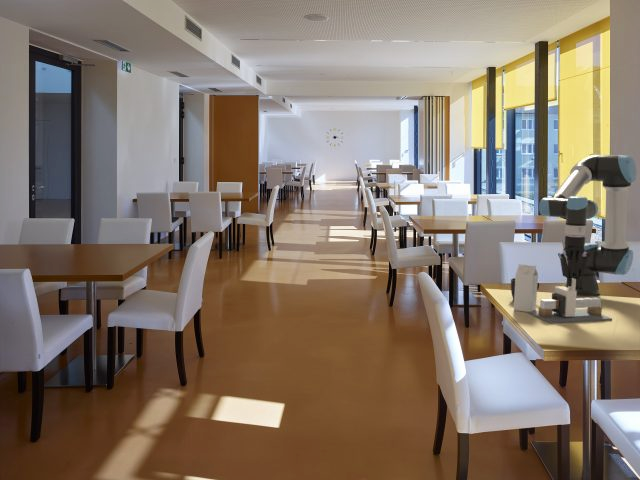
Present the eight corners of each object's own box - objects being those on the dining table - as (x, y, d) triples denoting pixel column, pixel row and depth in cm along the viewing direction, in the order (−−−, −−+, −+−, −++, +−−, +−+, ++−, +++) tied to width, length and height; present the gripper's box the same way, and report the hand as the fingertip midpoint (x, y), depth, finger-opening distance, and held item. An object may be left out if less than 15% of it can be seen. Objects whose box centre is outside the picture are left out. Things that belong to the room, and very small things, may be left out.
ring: (554, 310, 277) (555, 292, 276) (564, 314, 270) (565, 296, 269) (551, 310, 277) (552, 293, 276) (561, 314, 270) (562, 296, 269)
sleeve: (562, 310, 279) (563, 286, 278) (574, 316, 271) (576, 290, 269) (553, 311, 278) (554, 286, 277) (565, 316, 270) (567, 291, 268)
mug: (536, 304, 296) (537, 283, 295) (508, 301, 302) (509, 280, 300) (539, 301, 303) (541, 279, 302) (512, 298, 309) (513, 277, 307)
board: (587, 310, 286) (587, 309, 286) (612, 320, 270) (612, 318, 270) (528, 313, 280) (529, 311, 280) (550, 323, 265) (550, 321, 264)
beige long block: (593, 312, 280) (594, 296, 279) (601, 315, 275) (602, 299, 275) (538, 314, 275) (539, 298, 274) (545, 317, 270) (546, 301, 269)
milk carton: (519, 307, 291) (521, 263, 288) (535, 309, 287) (538, 264, 284) (513, 310, 285) (515, 265, 283) (530, 312, 281) (533, 267, 279)
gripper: (565, 237, 266) (562, 297, 269) (595, 236, 269) (591, 295, 272) (555, 234, 273) (551, 293, 276) (584, 234, 276) (580, 291, 279)
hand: (571, 294), depth 274 cm, fingers closed
